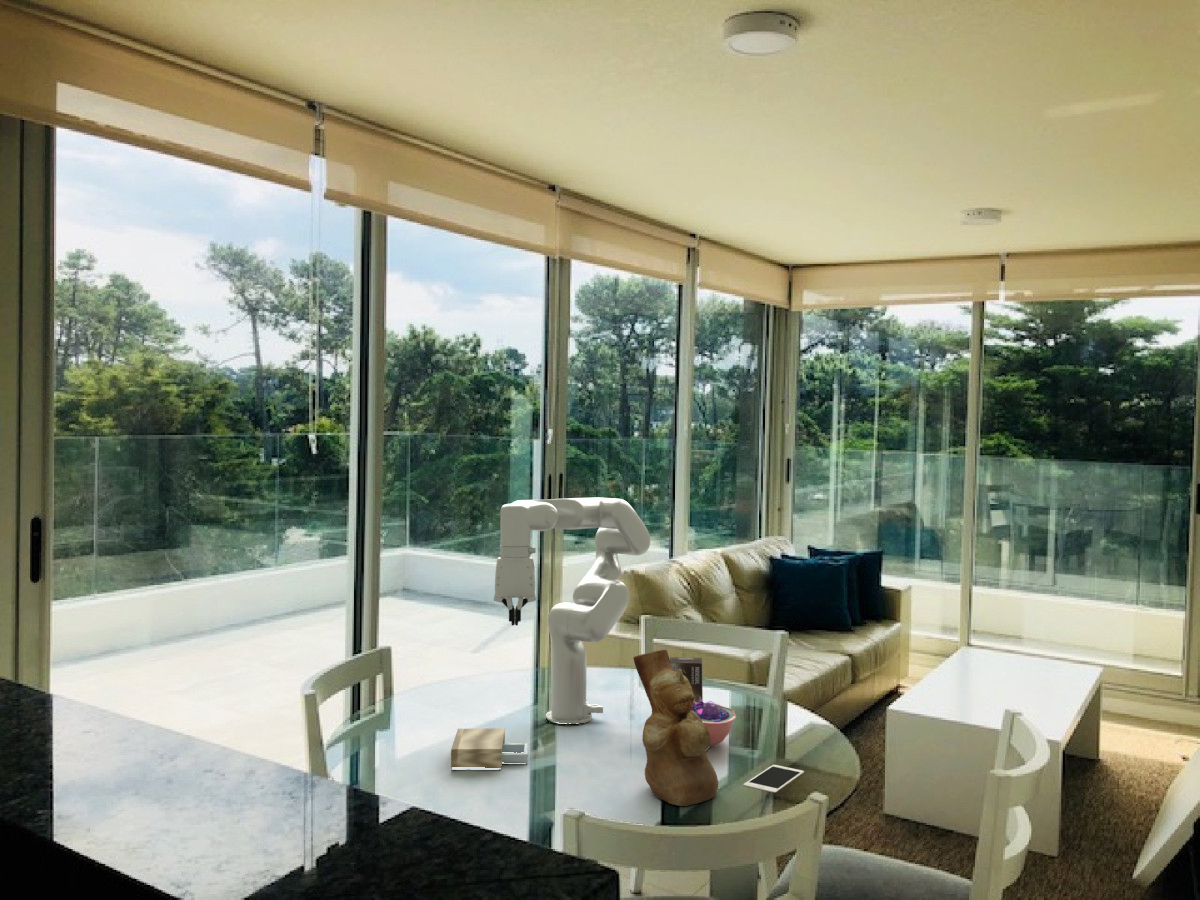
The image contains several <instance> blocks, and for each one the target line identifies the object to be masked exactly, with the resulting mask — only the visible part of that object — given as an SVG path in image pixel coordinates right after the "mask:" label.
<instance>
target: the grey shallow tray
mask: <svg viewBox="0 0 1200 900" xmlns="http://www.w3.org/2000/svg"><path fill="white" fill-rule="evenodd" d="M502 752H514V753H502V762H504V763H527V764H528V760H527V758H528V757H529V744H528V742H527V743H525V742H523V743H520V742H519V743H516V742H515V743H512V742H511V743H505V744H503V746H502ZM516 752H517V753H516ZM521 752H524V753H521Z"/></svg>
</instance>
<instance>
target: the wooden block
mask: <svg viewBox="0 0 1200 900" xmlns="http://www.w3.org/2000/svg"><path fill="white" fill-rule="evenodd" d="M503 744H506V727H505V728H501V727H500V728H496V727H495V728H492V727H491V728H490V727H489V728H457V731H456V734H455V736H454V740H453V742H452V746H451V748H450V768H451V767H485V768H501V766H502V767H503V765H502V746H503Z"/></svg>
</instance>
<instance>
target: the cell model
mask: <svg viewBox="0 0 1200 900" xmlns="http://www.w3.org/2000/svg"><path fill="white" fill-rule="evenodd" d="M691 710H692V711H694V712H695V713H696V714H697V715H698V716H699V717H700V719H701V720H702V722H703V724H704V725H705V726H706V727H707V729H708V731H709V734H710V746H709V748H711V747H715V746H718V745H719V744H722V743H723V741H724V740H725V739H726V738H727V737H728V735H729V734H730V733H731V730H732V727H733V726H734V725H733V724H734V722H735V720H736V718H737V715H736V713H735V712H736V711H735V710H733V709H731V708H729V707H726V706H723V705H720V704H717V703H715V702H714V701H712V700H708V701H706V702H704V701H703V702H702V701H701V700H699V702H698V703H696V702H693V708H692V709H691Z"/></svg>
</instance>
